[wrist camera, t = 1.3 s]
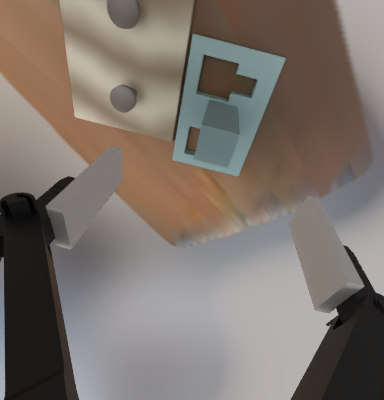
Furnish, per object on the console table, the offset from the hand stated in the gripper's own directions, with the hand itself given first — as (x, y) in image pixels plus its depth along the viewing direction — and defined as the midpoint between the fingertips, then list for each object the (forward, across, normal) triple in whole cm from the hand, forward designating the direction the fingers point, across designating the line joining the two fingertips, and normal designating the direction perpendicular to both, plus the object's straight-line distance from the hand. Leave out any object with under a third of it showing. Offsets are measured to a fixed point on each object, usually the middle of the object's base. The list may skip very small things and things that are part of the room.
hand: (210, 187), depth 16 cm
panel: (+17, 0, 0) cm, 17 cm away
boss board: (+17, -13, +4) cm, 21 cm away
